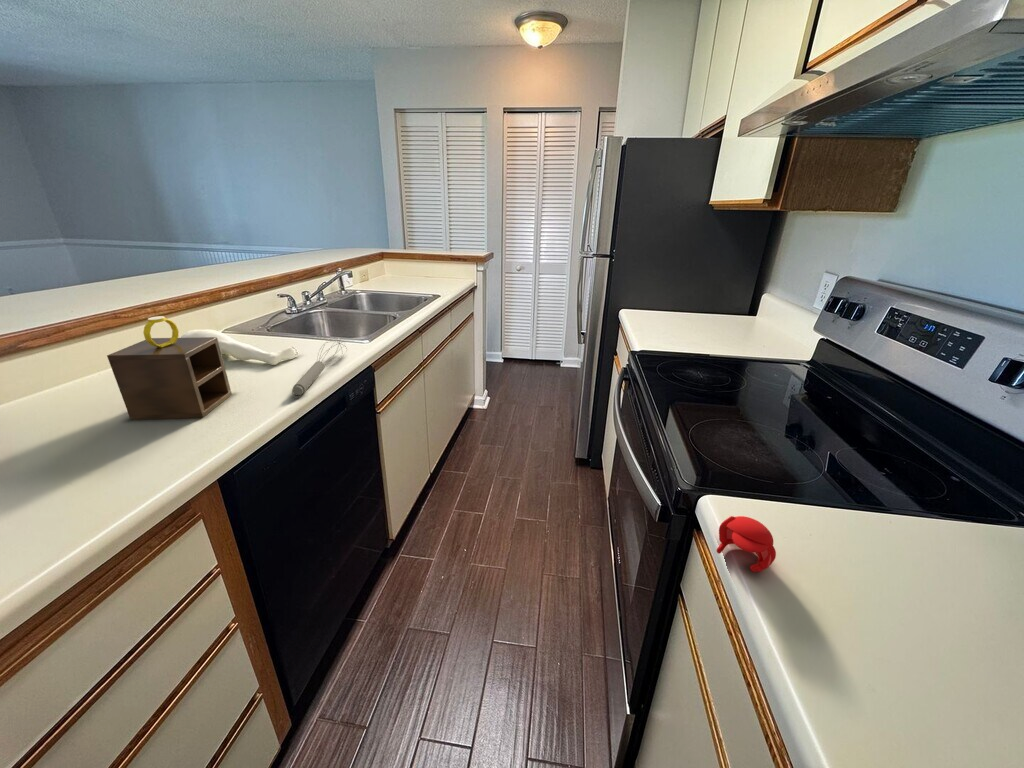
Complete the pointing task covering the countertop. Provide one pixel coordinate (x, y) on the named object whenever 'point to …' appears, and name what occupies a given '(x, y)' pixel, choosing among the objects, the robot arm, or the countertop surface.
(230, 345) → the leg
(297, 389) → the kitchen whisk
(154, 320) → the watch
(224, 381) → the shelf
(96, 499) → the countertop surface
